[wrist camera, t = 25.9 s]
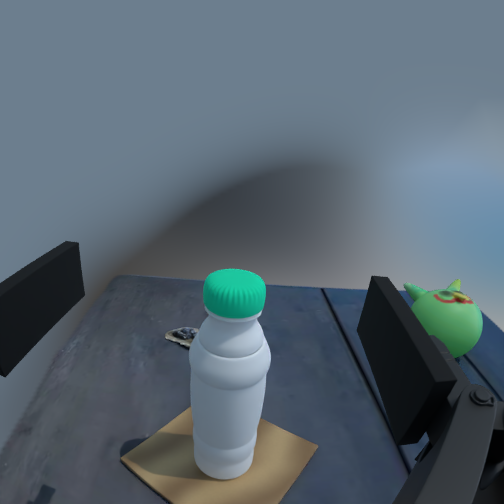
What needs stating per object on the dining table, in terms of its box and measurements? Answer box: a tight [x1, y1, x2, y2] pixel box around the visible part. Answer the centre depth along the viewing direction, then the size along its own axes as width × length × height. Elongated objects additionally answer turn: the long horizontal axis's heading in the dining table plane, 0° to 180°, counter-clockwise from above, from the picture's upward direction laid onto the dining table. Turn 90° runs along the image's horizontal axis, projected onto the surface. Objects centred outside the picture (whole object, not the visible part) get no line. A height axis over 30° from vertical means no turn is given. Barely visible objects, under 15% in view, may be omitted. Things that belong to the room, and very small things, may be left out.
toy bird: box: [404, 279, 483, 358], centre depth 55 cm, size 18×17×15 cm
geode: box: [165, 327, 200, 348], centre depth 57 cm, size 7×8×2 cm
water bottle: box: [189, 269, 271, 479], centre depth 28 cm, size 7×7×25 cm
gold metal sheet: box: [120, 406, 318, 504], centre depth 32 cm, size 18×18×1 cm
